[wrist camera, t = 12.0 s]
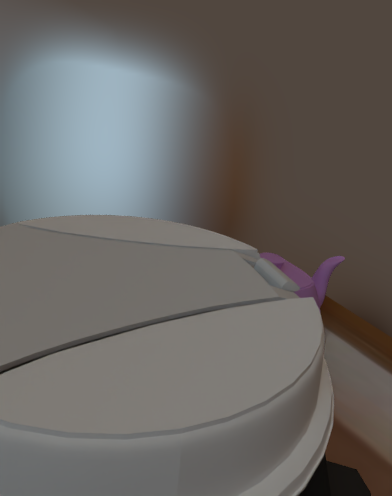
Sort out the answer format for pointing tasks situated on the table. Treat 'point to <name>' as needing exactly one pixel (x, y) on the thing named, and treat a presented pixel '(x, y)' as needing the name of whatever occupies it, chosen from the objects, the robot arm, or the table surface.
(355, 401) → the table surface
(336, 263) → the teapot
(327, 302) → the table surface
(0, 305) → the paper cup
